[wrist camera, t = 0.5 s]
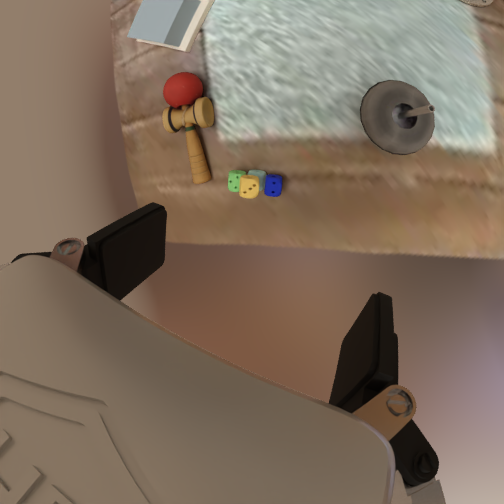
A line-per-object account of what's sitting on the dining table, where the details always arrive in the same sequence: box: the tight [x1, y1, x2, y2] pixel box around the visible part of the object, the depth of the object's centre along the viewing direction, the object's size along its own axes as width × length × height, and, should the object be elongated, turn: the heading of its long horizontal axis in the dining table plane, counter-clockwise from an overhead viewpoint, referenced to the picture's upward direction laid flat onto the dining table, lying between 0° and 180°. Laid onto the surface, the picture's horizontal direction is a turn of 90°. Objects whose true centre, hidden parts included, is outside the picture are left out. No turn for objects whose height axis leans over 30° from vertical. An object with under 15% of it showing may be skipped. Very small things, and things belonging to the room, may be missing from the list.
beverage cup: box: [360, 80, 435, 155], centre depth 21 cm, size 7×7×20 cm
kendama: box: [162, 72, 214, 184], centre depth 37 cm, size 8×6×18 cm
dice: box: [228, 170, 282, 198], centre depth 37 cm, size 8×3×6 cm, turn 86°
